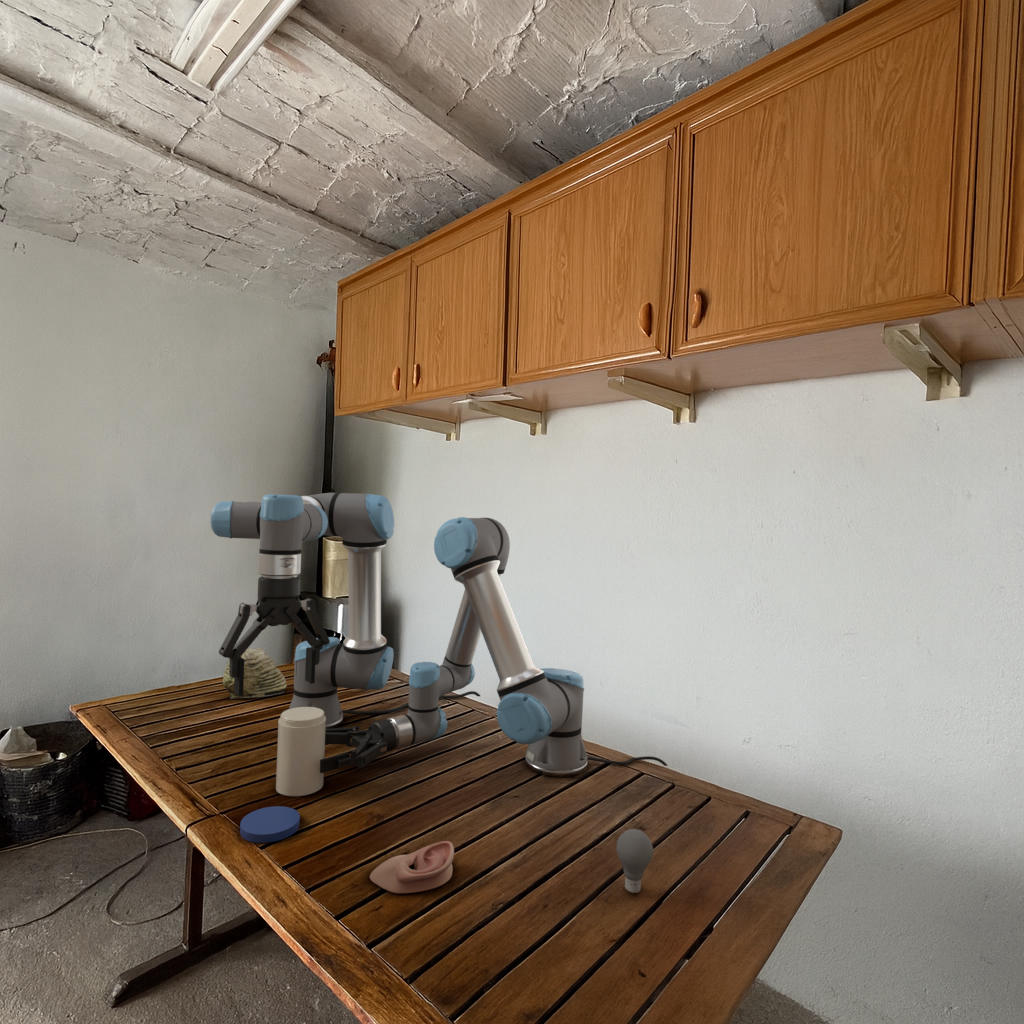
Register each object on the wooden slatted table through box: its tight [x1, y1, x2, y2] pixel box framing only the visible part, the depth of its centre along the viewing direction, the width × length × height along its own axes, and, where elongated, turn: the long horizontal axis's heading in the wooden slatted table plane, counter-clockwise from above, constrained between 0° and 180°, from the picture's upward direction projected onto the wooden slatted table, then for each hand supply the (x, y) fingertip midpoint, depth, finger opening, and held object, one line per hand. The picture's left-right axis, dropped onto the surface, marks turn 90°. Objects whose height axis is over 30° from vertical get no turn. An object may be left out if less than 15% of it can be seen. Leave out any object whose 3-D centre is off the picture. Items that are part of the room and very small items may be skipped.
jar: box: [275, 707, 326, 797], centre depth 138 cm, size 10×10×16 cm
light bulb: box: [615, 828, 654, 894], centre depth 106 cm, size 6×6×10 cm
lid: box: [239, 805, 301, 844], centre depth 121 cm, size 11×11×2 cm
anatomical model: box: [369, 840, 455, 894], centre depth 107 cm, size 13×4×12 cm
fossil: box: [222, 647, 288, 699], centre depth 198 cm, size 9×18×15 cm, turn 132°
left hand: (275, 687), depth 120 cm, fingers open, 13 cm apart
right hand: (306, 756), depth 139 cm, fingers open, 13 cm apart
